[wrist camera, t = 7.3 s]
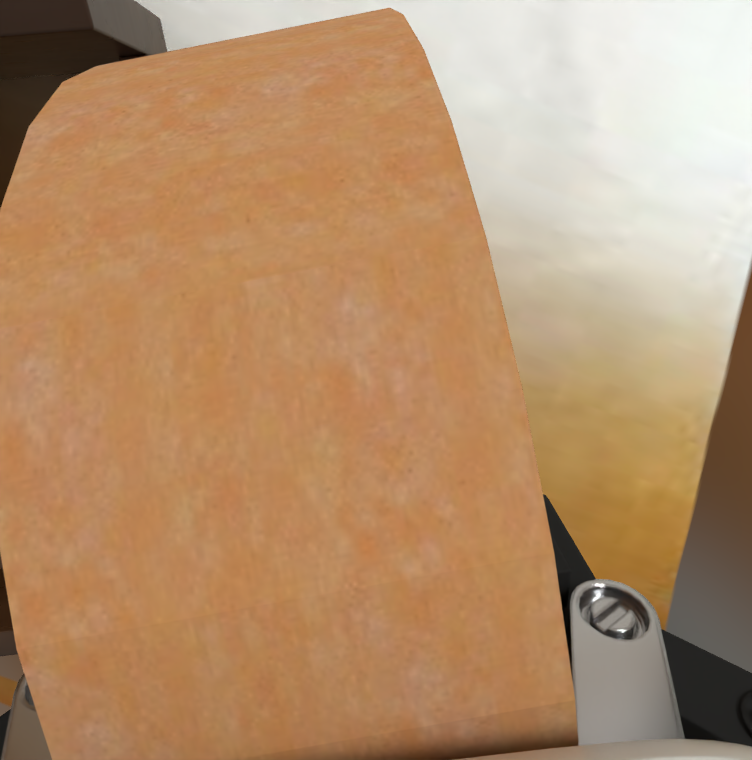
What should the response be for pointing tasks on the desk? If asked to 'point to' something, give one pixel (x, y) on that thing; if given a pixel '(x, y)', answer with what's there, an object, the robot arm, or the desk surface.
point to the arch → (268, 418)
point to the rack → (66, 56)
